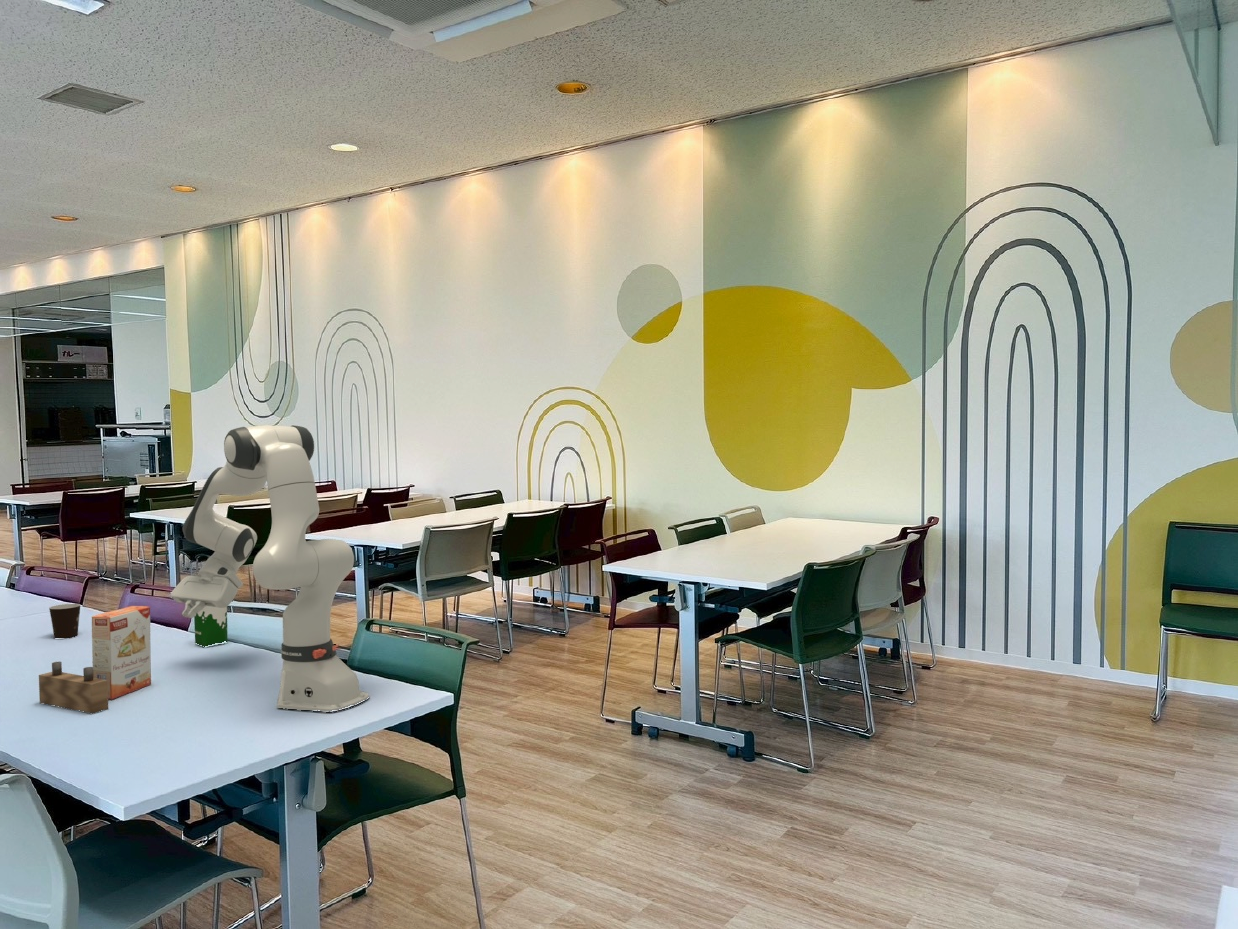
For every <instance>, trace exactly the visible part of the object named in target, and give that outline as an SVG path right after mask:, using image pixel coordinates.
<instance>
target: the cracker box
mask: <svg viewBox="0 0 1238 929" xmlns="http://www.w3.org/2000/svg"><path fill="white" fill-rule="evenodd" d="M91 643H92V645H91V646H92V647H91V649H92V650H91V651H92V667H93V678H98V679H104V680H107V681H108V700H114V699H116V698H119V697H122V696H124V695H126V694H130V693H133V692H135V691H137V690H139V689H140V690H141V689H143V688H146V687H149V686H151V685H152V662H151V659H152V658H151V657H152V656H151V652H152V651H151V607H150V606H147V605H146V606H145V605H144V606H143V605H131V606H127V607H126V606H125V607H122V608H120V609H115V610H111V611H107V612H104V613H100V614H95V615H93V616H91Z"/></svg>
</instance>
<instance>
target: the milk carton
mask: <svg viewBox="0 0 1238 929" xmlns="http://www.w3.org/2000/svg"><path fill="white" fill-rule="evenodd" d="M193 620H194V622H193V624H194V643H197V644H199V645H202V646H204V647H205V646H208V645H212V644H215V643H222V642H224V641H226V642H228V641H229V640H228V606H227V607H225V608H219V607H210V606H205V607H204V608H203V609H202V610H201V611H199V612H198V613H196V615H195V616H194V617H193ZM199 645H198V646H199ZM204 647H203V648H204Z"/></svg>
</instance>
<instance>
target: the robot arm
mask: <svg viewBox="0 0 1238 929" xmlns="http://www.w3.org/2000/svg"><path fill="white" fill-rule="evenodd" d="M314 451H315V440H314V438H313V435H312V433H311V431H309V429H308V428H306V427H303V426H300V425H271V424H263V425H262V424H261V425H256V426H255V425H253V426H248V427H245V426H241V427H236V428H233V429H231V430H229V431H228V432H227V434H226V436H225V437H224V441H223V452H224V456H225V459H226V462H225V465H224V466H223V467H222V466H220V467H217V468H216V469H214V470H213V471H212V472H211V474H210V475H208V477H207V479H206V481H205V482H204V484H203V486H202V488H201V490H200V491H199V494H198V497H197V498H196V501H195V503H194V505H193V508H192V509H191V511H190V512H189V514H188V516H187V517H186V519H185V520H184V523H183V524H182V525H183V526H182V528H181V529H182V532H183V535H184V537H185V540H186V541H187V542H190V543H193V544H196V545H199V546H202V547H205V548H206V549H209V550H212V551H214V552H213V553H212V555H211V556H209V557H207V560H205V562H204V564H203V565H202V566H201V568H200V569H199V571H198V572H197V573H195V572H193V573H191V574H190V575H187V576H185V577H183V579H182V580H180V582H179V583H177V585H176V586H175V587H174V589H172V591H171V593H170V598H171V599H172V600H173V601H174V602H176V603H178V604H185V606H184V610H182V613H181V615H182V616H183V617H184V618H190V619H194V616H195V615H196V613H198V612H199V611H201V610H202V609H203V608H204V607H205V606H210V607H219V608H225V607H227V608H228V606H229V605H230V604H232V602H233V600H234V599H235V597H236V596H237V594H238V592H239V589H242V587H243V586H244V582H243V581H242V580H241V579H240V578H239V577H238V575H237V574H238V572H239V568H240V567H241V566H242V565H244V564H245V563H246V561H247V559H249V556H250V555H251V553H252V551H253V549H254V548H255V545H256V543H257V540H258V535H257V532H256V531H255V529H253V528H252V527H250V526H249V525H246V524H242V523H239V522H236V521H234V520H232V519H230V518H227V517H225V516H223V515H221V514H219V513H217V512H216V511H214V509H213V508H214V505H215V503H216V502H217V499H218V497H219V495H229V496H235V497H245V496H251V495H254V494H255V493H258V492H259V491H261V490H262V489H263V488H264V487H265V485H267V491H268V497H269V503H270V510H271V529H270V533H269V534H268V538H267V541H266V542H265V544H264V546H263V547H262V548H261V549H260V550H259V551H258V552H257V554H256V555H255V557H254V560H253V564H252V574H253V577H254V579H255V581H256V582H257V584H258V585H259V586H260V587H261V588H263V589H266V590H277V591H279V590H281V591H284V590H291V589H296V588H300V589H299V592H298V594H297V596H296V597H295V598H294V600H293V601H292V602H290V603H289V604H288V605H287V606H286V608H285V609H284V611H283V614H282V643H281V647H280V648H281V649H280V652H281V653H280V654H281V657H280V658H281V659H282V662H283V663H282V669H281V673H280V674H281V675H280V687H279V693H278V697H277V699H276V700H277V701H278V702H277V701H276V702H277V706H276V709H278V708H283V709H282V710H288V709H297V710H296V711H301V710H317V711H318V710H320V711H332V710H339V709H342V708H345V707H348V706H350V705H355V704H357V703H359V702H361V701H363V700H366V699H367V698H368V697H369V698H370V694H369V693H368V692H364V691H361V690H360V685H359V678H358V676H357V674H356V672H354V671H353V669H351V668H350V667H349V666H348V665H346V663H344V662H343V661H342V659H341V658H340V657H338V656H337V650H340V644H337V645H334V642H333V639H332V638H331V616H332V614H331V613H332V612H331V611H332V606H333V602H334V599H335V595H336V594H337V591H338V589H339V587H340V585H341V584H342V582H343V581H344V580H345V578H347V576H349V574H350V573H351V572H352V570H353V567H354V563H355V556H354V552H353V549H352V548H351V546H350V545H349V544H348V542H346V541H345V540H340V539H333V538H322V539H321V538H320V539H314V540H306V533H307V528H308V527H309V526H310V525H312V524H313V523H314V522H315V521H316V520H317V518H318V517H319V513H320V505H319V500H318V499H319V498H318V493H317V488H316V487H317V486H316V483H315V477H314V473H313V469H312V465H311V463H310V461H311V460H312V458H313V456H314ZM285 708H287V709H285Z"/></svg>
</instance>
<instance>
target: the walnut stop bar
mask: <svg viewBox="0 0 1238 929" xmlns="http://www.w3.org/2000/svg"><path fill="white" fill-rule="evenodd" d="M62 669H63V667H62V661H54V662H51V671H50V672H45V673H41V674H39V675H38V692H39V693H38V694H39V696H38V697H39V704H41V703H44V704H43V705H46V704H48V705H47V706H51V705H55V706H54V707H56V706H59V707H58V708H61V707H62V709H66V708H67V709H66V710H71V709H72V710H71V711H75V710H80V711H84V712H83V713H85V712H87V713H86V714H90V713H92V714H91V715H94V714H96V712H97V713H100V712H102V711H101V710H104V711H106V710H109V699H108V681H107V680H104V679H98V678H93V666H86V667H83V668H82V670H83V675H79V674H75V673H69V672H63V670H62ZM80 711H79V712H80ZM99 711H100V712H99ZM93 713H94V714H93Z"/></svg>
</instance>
